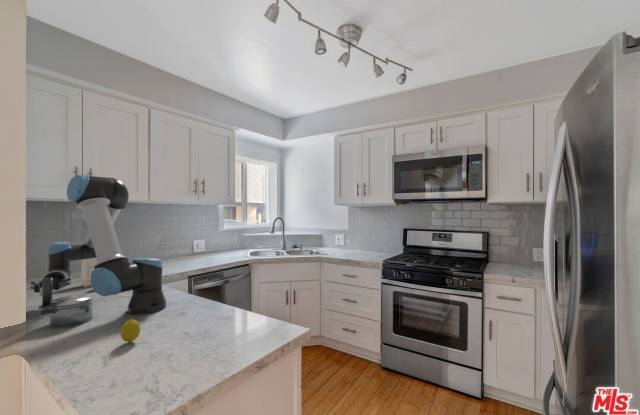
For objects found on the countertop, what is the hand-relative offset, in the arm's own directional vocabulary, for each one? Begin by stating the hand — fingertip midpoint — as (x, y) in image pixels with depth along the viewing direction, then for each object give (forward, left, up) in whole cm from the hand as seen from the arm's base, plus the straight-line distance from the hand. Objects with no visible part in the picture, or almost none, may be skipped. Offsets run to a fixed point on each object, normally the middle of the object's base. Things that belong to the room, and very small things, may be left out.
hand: (42, 292), depth 108 cm
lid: (-5, -5, -6) cm, 9 cm away
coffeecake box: (+18, -72, -14) cm, 76 cm away
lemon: (-38, +19, -14) cm, 45 cm away
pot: (-5, -5, -14) cm, 16 cm away
